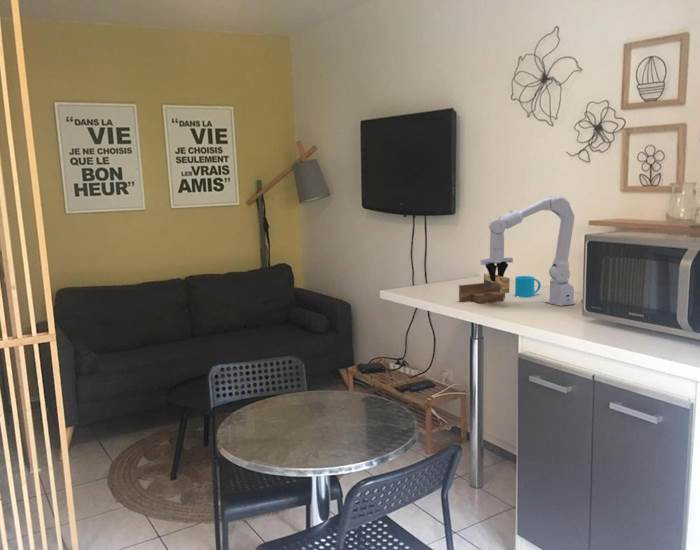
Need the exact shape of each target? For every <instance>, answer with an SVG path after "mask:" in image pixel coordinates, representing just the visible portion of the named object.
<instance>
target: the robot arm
mask: <svg viewBox="0 0 700 550" xmlns="http://www.w3.org/2000/svg"><path fill="white" fill-rule="evenodd" d="M541 211H551V213H554V214H555V215H556V216H557V217H558V218H559V219H560V222H559V223H560V224H559V229H558V237H557V242H556V243H557V244H556V251H555V256H554V259H553V261H552V265H551V266H550V268H549V270H548V274H549V276H550V277H551V278H550V280H549V300H544V302H545V303H548V304H552V305H556V306H559V307H561V306H569V305H575V304H576V302H574V300H575V299H574V297H575V295H574V293H575V289H574V286H573V285H572V284H570V283H569V279H570V276H571V271H570V269H569V268H570V263H569V256H570V248H571V243H572V237H573V235H572V234H573V229H574V225H575V214H574V212H573V210H572V207H571V204H570V201H568V199H566V197H564V196H561V195H560V196H558V195H551V196H549V197H546V198H544V199H541V200H539V201H537V202H534V203H533V204H531V205H529V206H527V207H525V208H523V209H521V210H517V209H514V210H513V209H511V210H509V212H507V213H505V214H503V215H499V216H498V218H494V219H491V221H490V222H489V225H488V229H489V230H490V233H489V258H486V259H485V258H484V259H480V265H483V266H485V268H486V269H487V272H488V273H489V275H490V279H491V281H495V275H496V274H497V275H499V276H503V277H505V276H504V275H505V272H506V271H507V269H508V267H509V263H514V258H513V257H509V256H508V257H505V231H506V230H508V229H510V228H513V227H514V226H516V225H519V224H521V223H522V222H523V219H525V218H527V217H529V216H532V215H534V214H536V213H538V212H541Z"/></svg>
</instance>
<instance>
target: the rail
mask: <svg viewBox="0 0 700 550" xmlns="http://www.w3.org/2000/svg"><path fill="white" fill-rule="evenodd" d="M510 279H511V278H509V277H507V276H499V275H498V274H495V281H491V279H490V275H489V272H488V273H483V283H484V288H491V282H494V283H498V284H500V293H505V294H509V293H510Z"/></svg>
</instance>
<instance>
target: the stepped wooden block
mask: <svg viewBox="0 0 700 550" xmlns="http://www.w3.org/2000/svg"><path fill="white" fill-rule="evenodd" d="M504 297H505V298H506V293H500V284H498V283H494V282H491V288H484V282H479V283H477V282H476V283H467V284H459V285H458V301H459V302H461V303H465V302H474V303H477V304H479V303H480V304H487V303H486V302H489V303H497V302H496V301H498V302H504V301H505V299H504Z"/></svg>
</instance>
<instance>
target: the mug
mask: <svg viewBox="0 0 700 550" xmlns="http://www.w3.org/2000/svg"><path fill="white" fill-rule="evenodd" d="M514 280H515V281H514V282H515V283H514V288H515V290H514V297H517V296H519V297H518V298H533V297H534V296H535V294H536V293H538V292H539V290H540V289H541V287H542V285H541V282H540V281H539V280H538V279H537V278H535V277H534V276H531V275H520V276H519V275H518V276H515V279H514ZM535 282H537V289H536V290H535ZM532 296H533V297H532Z"/></svg>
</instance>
